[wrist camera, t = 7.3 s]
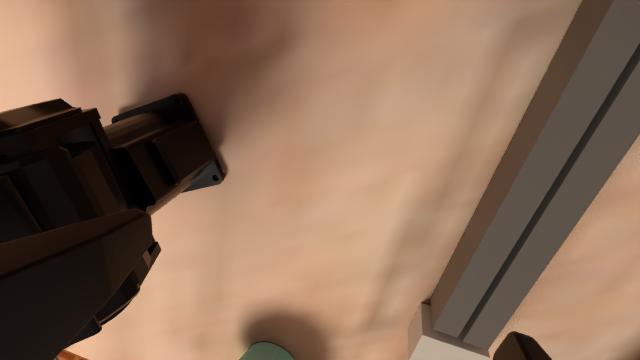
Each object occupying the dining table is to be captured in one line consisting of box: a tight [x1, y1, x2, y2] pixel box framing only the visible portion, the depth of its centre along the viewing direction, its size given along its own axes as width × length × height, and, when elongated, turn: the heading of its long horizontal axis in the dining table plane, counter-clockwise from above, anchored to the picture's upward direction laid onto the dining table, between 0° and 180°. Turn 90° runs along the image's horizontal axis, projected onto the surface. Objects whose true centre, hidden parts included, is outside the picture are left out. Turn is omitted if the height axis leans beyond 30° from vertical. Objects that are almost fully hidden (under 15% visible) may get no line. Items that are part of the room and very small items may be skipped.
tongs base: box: [408, 43, 640, 360], centre depth 17 cm, size 28×5×3 cm, turn 169°
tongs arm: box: [430, 0, 640, 338], centre depth 17 cm, size 24×2×3 cm, turn 169°
